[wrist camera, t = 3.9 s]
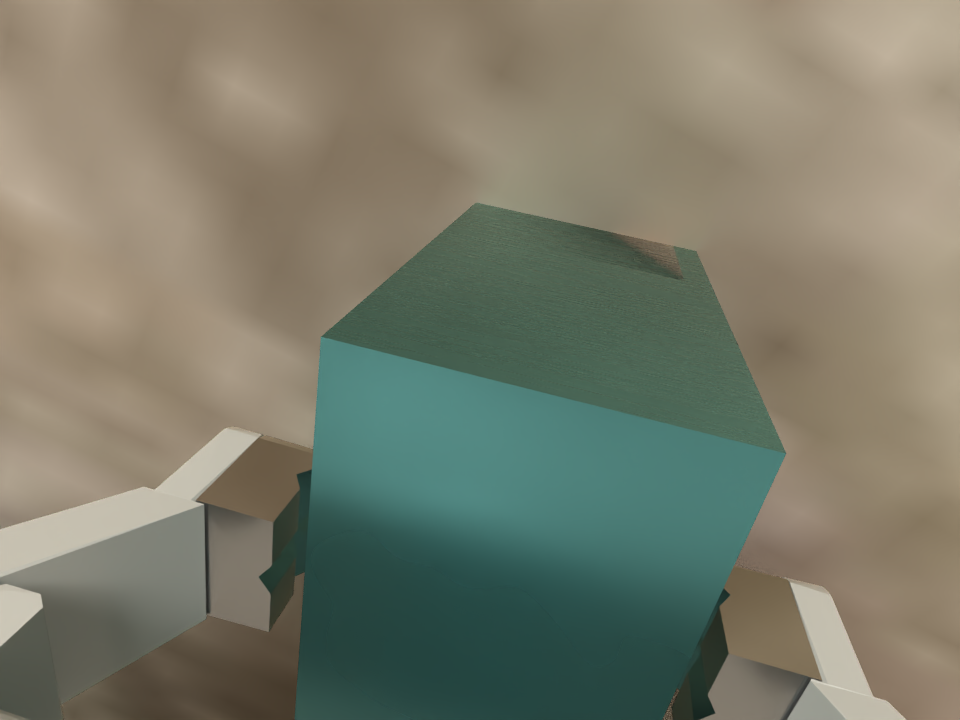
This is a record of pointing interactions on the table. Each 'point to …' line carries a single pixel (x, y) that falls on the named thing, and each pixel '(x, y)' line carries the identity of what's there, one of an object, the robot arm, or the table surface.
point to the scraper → (525, 479)
